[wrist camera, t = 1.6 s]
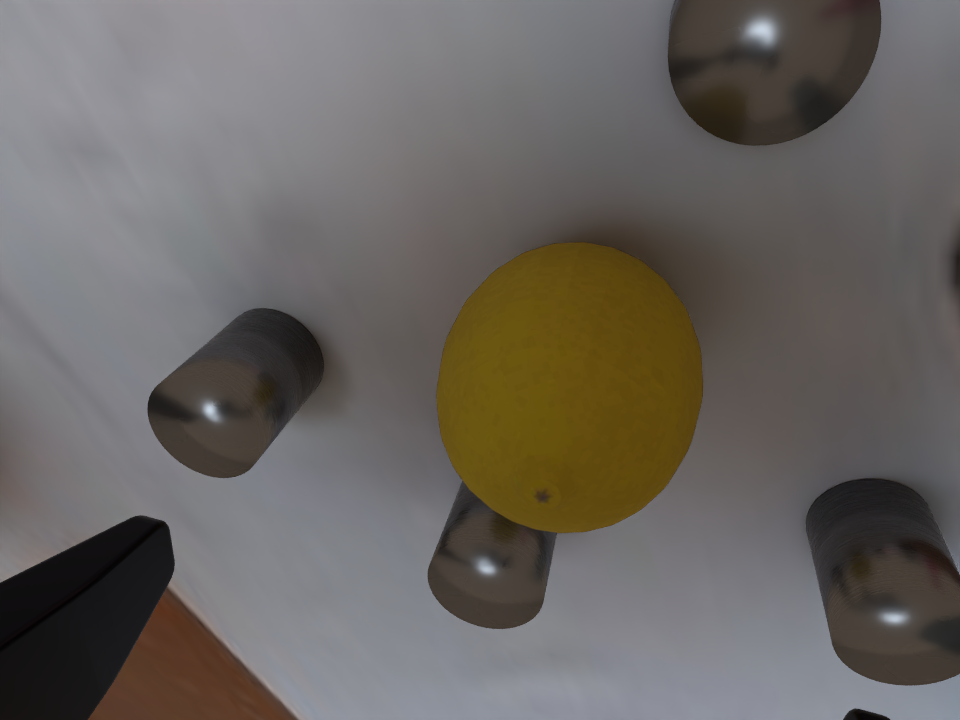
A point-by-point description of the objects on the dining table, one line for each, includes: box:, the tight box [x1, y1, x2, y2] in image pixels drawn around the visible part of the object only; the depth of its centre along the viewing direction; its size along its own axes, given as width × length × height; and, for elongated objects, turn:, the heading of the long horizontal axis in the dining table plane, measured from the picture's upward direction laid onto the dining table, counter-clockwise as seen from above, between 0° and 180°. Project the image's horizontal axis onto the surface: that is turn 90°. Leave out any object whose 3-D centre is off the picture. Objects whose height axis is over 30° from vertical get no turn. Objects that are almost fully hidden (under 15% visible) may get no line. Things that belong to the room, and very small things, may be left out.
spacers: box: [148, 0, 960, 685], centre depth 17 cm, size 17×22×4 cm
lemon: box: [437, 242, 703, 533], centre depth 16 cm, size 6×6×8 cm
